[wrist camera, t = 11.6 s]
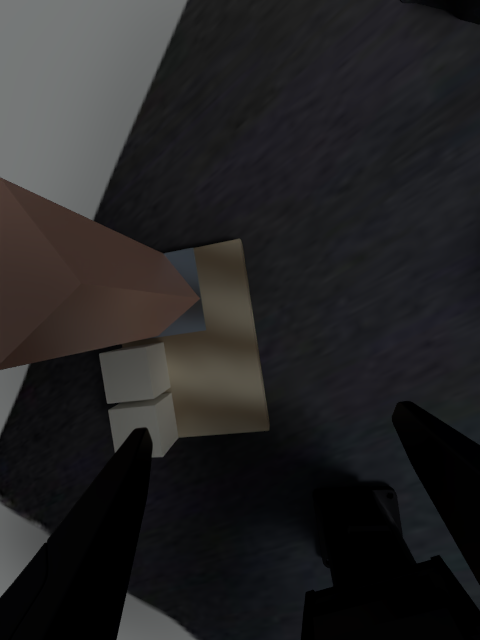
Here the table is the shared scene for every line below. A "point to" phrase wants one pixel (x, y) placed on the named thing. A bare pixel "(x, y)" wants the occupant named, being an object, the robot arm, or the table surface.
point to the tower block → (76, 283)
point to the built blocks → (140, 395)
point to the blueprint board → (214, 346)
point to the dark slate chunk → (455, 8)
